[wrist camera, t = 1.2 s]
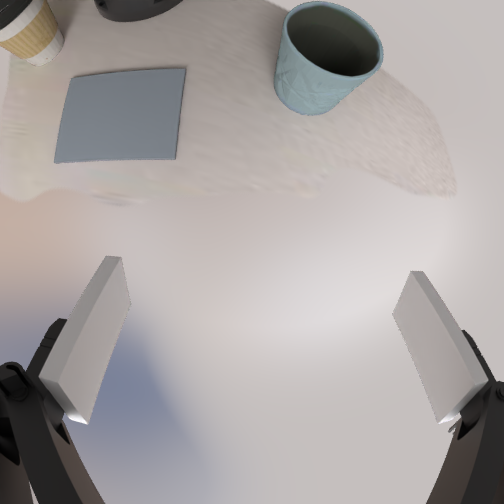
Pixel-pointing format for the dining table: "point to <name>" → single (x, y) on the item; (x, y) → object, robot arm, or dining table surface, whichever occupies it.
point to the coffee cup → (29, 30)
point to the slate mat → (121, 116)
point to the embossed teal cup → (324, 56)
